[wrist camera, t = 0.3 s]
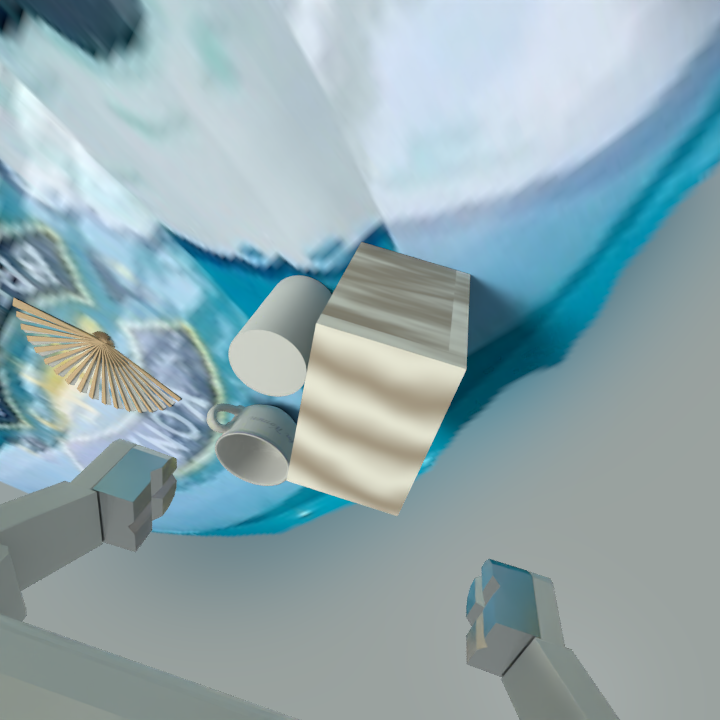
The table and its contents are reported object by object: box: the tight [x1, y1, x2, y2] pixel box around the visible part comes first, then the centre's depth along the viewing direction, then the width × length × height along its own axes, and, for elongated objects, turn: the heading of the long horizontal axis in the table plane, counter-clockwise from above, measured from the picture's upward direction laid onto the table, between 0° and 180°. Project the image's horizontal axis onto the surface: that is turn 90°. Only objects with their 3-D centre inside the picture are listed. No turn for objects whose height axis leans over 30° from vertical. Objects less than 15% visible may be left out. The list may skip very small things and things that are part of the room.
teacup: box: [207, 404, 297, 486], centre depth 64 cm, size 14×11×8 cm
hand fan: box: [13, 298, 181, 413], centre depth 69 cm, size 26×1×15 cm
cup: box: [229, 276, 332, 396], centre depth 50 cm, size 8×8×12 cm
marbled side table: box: [286, 242, 470, 516], centre depth 48 cm, size 20×12×17 cm, turn 168°
